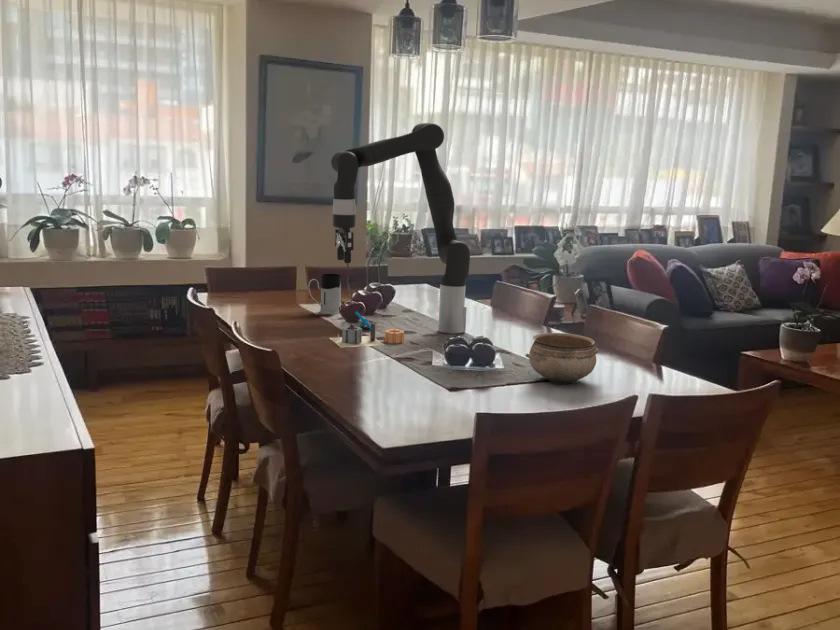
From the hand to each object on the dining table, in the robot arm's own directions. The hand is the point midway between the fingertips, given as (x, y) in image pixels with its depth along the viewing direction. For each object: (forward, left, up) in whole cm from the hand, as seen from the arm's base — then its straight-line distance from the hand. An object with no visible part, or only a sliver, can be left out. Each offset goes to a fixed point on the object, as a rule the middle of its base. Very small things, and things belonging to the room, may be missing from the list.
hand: (343, 261), depth 256 cm
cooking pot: (-46, +66, -27) cm, 84 cm away
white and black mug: (-6, -45, -27) cm, 53 cm away
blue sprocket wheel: (-11, -8, -27) cm, 30 cm away
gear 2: (-14, +13, -26) cm, 33 cm away
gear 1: (0, +11, -25) cm, 27 cm away
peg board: (-2, +11, -26) cm, 29 cm away
